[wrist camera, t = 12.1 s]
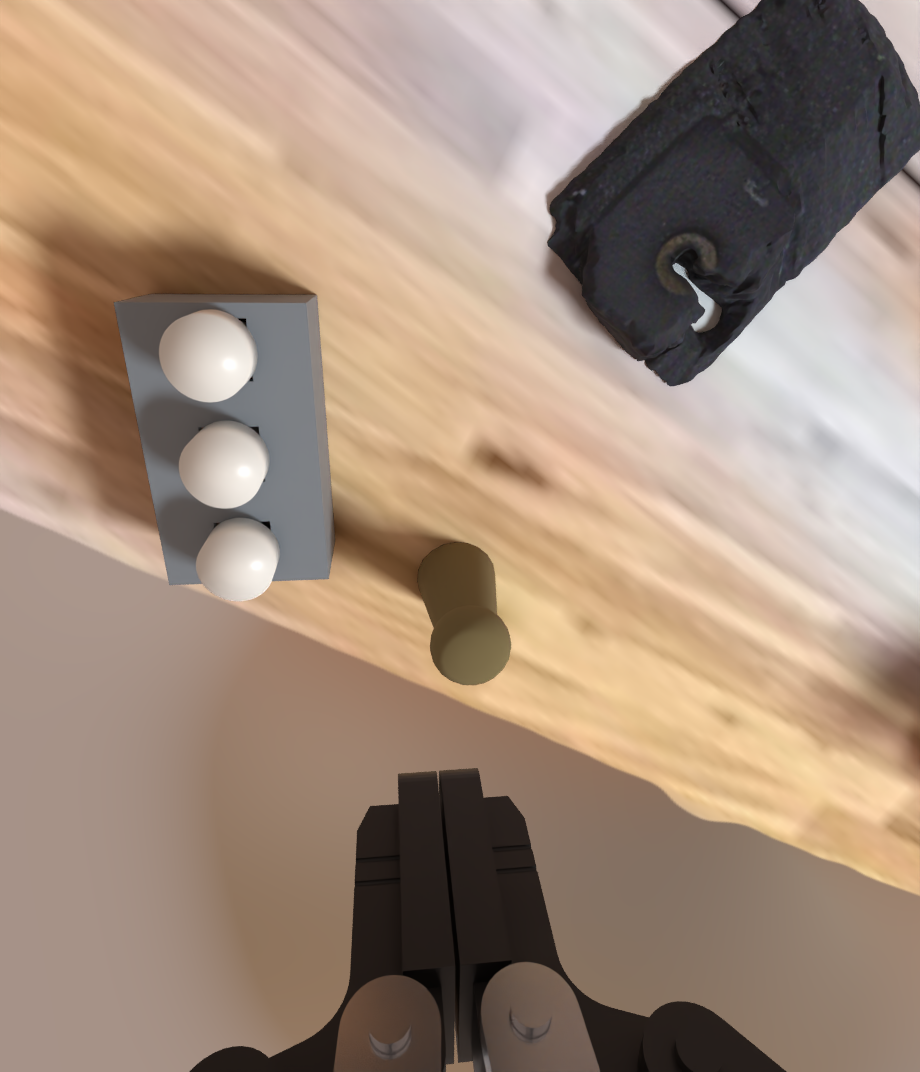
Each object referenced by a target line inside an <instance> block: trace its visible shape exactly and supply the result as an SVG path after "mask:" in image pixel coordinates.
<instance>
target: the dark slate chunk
mask: <svg viewBox="0 0 920 1072" xmlns="http://www.w3.org/2000/svg"><path fill="white" fill-rule="evenodd" d="M919 150H920V102H919V99H918V93H917V91H916V89H915V87H914V86H913V84H912V83H911V81H910V79H909V77H908V75H907V73H906V70H905V67H904V64H903V62H902V60H901V58H900V57H899V55H898V53H897V52H896V51H895V49H894V47H893V44H892V43H891V41H890V40H889V39H888V38H887V37H886V34H885V31H884V29H883V27H882V26H881V25H880V23H879V22H878V20H877V19H876V18H875V17H874V16H873V15H872V14H870V13H869V12H868V10H867V8H866V7H865V6H864V4H862V3H861V2H860V1H859V0H761V1H760V2H759V4H758V6H757V7H756V9H755V10H753V11H752V12H751V13H749V14H747V15H745V16H743V17H742V18H740V19H739V20H738V21H737V23H736V24H735V25H734V26H733V27H731V28H730V29H728V30H727V31H726V32H724V34H723V35H722V36H721V37H720V39H719V40H718V42H717V43H715V44H714V45H712V46H711V47H710V48H708V49H707V50H706V51H705V52H704V53H703V54H702V55H700V56H699V57H698V58H697V59H696V60H695V61H694V62H693V63H692V64H691V65H689V66H688V67H687V68H686V69H684V71H683V72H682V74H681V75H680V76H679V77H678V78H676V79H675V80H673V81H672V83H671V84H670V85H669V86H668V87H667V88H666V89H665V90H664V91H663V92H662V94H661V95H660V97H659V98H658V99H657V100H655V101H653V102H651V103H650V104H649V105H648V107H647V108H646V109H645V111H644V112H642V113H641V114H640V115H639V116H638V117H637V118H635V119H634V120H633V121H632V122H631V123H630V125H629V126H628V127H627V128H626V129H625V130H624V131H623V132H622V133H621V134H620V136H618V137H617V138H616V139H615V140H614V141H613V142H612V143H611V144H610V145H609V146H608V147H607V148H606V149H605V150H604V151H603V153H602V154H601V155H600V156H599V157H598V158H596V159H595V160H594V161H593V162H591V163H590V164H589V166H588V167H587V168H586V170H584V171H583V172H582V173H581V174H579V175H578V176H577V177H576V178H574V179H573V180H572V181H571V182H570V183H569V184H568V186H567V187H566V188H565V189H564V191H563V192H562V193H560V194H559V195H558V196H557V197H556V198H555V199H554V200H553V201H552V202H551V205H550V212H551V215H552V216H554V217H555V219H556V221H557V224H556V230H555V232H554V234H553V235H552V237H551V238H550V240H549V241H548V242H547V243H548V246H549V247H550V248H551V249H552V250H553V251H554V252H555V253H556V254H557V255H558V256H559V257H560V258H561V259H562V260H563V262H564V263H565V265H566V266H567V267H568V269H569V270H570V271H571V272H572V273H573V274H574V276H575V277H576V278H577V279H578V281H579V282H580V283H581V284H582V296H583V297H584V298H585V299H586V302H587V305H588V306H589V308H590V309H591V311H592V312H593V313H594V314H595V316H596V317H597V318H598V320H599V322H600V323H601V324H602V325H603V326H605V327H606V328H607V330H608V331H609V332H610V333H611V334H612V336H613V337H614V338H615V339H616V341H617V342H618V343H619V344H620V345H621V347H622V348H623V349H624V350H625V351H626V352H627V353H628V354H630V355H631V356H633V357H634V358H635V359H637V361H642V360H645V361H646V363H647V366H648V368H649V369H650V370H655V371H656V372H657V373H658V374H659V376H660V378H661V379H662V380H665V381H666V382H667V385H669V386H676V385H680V384H683V383H687V382H689V381H691V380H692V379H693V378H694V377H695V376H696V375H697V374H698V373H700V372H702V371H704V370H705V369H706V368H708V367H709V366H710V365H711V364H712V363H713V362H714V361H715V360H716V359H717V357H718V356H719V355H720V354H721V353H722V352H723V351H724V350H725V349H726V347H727V346H728V345H729V344H730V343H732V342H733V341H734V340H735V339H736V338H737V337H738V336H739V335H740V334H741V332H742V331H743V330H744V328H745V327H746V326H747V325H748V324H749V323H750V322H751V321H752V319H753V318H754V317H755V316H756V315H757V314H758V313H759V312H760V311H761V310H762V309H763V308H764V306H765V305H766V304H767V303H768V302H769V301H770V300H771V299H772V297H773V295H774V294H775V292H776V291H778V290H779V289H780V288H781V287H783V286H784V285H785V282H786V281H788V280H791V279H794V278H796V277H797V276H798V275H799V274H800V273H801V271H802V270H803V268H804V267H806V266H807V265H808V264H810V263H811V262H812V261H814V260H815V259H816V258H817V256H818V255H819V254H820V253H822V252H823V251H824V250H825V249H826V247H827V246H828V245H829V243H830V242H831V240H832V239H833V238H834V237H835V235H836V233H838V232H839V231H840V230H841V229H842V228H843V227H844V226H846V225H847V224H849V222H850V221H851V220H852V218H853V217H854V216H855V215H856V213H857V212H858V211H859V210H860V209H861V208H862V207H863V206H864V205H865V204H866V203H867V202H868V201H869V200H870V199H871V198H872V197H873V196H874V194H875V193H876V192H877V191H878V190H879V189H881V188H882V187H883V186H884V185H885V184H886V183H887V182H889V181H890V180H891V179H892V178H893V177H894V176H895V175H897V174H898V173H899V172H900V171H901V170H902V169H903V168H904V166H905V165H906V164H907V162H908V161H909V160H910V158H911V157H912V156H913V155H914V154H916V153H917V152H918V151H919ZM675 263H678V264H679V265H681V266H682V267H684V268H686V269H687V270H688V272H689V279H690V280H691V282H692V283H693V284H695V285H696V286H697V287H698V288H699V289H700V290H701V291H702V292H704V293H705V294H706V295H708V296H709V297H710V298H712V299H713V300H714V301H715V302H716V303H717V304H718V305H719V306H720V307H722V314H721V317H720V320H719V322H718V324H717V325H716V326H715V327H714V328H713V329H711V330H709V331H706V332H701V333H698V332H695V331H694V329H693V327H692V326H691V324H692V323H696V322H697V321H698V319H699V318H700V317H701V316H703V314H704V312H705V309H704V308H703V307H702V306H701V305H700V304H699V302H698V296H697V294H696V292H695V291H694V289H693V288H692V286H691V285H690V283H689V282H688V281H687V280H686V279H685V278H684V277H682V276H681V275H679V274H678V273H676V272H675V271H674V269H673V266H672V265H673V264H675Z"/></svg>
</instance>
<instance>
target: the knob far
mask: <svg viewBox="0 0 920 1072" xmlns="http://www.w3.org/2000/svg"><path fill="white" fill-rule="evenodd" d="M270 528H271V526H270V521H263V522H258V521H255V520H253V519H249V518H232V519H228V520H225V521H223V522H221V523H220V524H218V525H217V526H216V527H215V528H214V529H213V530H212V531H211V533H210V535H209V536H208V538H207V540H206V541H205V543H204V545H203V546H202V548H201V550H200V552H199V553H198V556H197V560H196V571H197V574H198V577H199V579H200V581H201V583H202V584H203V585H204V586H205V588H206V589H207V590H209V591H210V592H211V593H213V594H214V595H216V596H218V597H220V598H223V599H226V600H230V601H246V600H250V599H253V598H256V597H258V596H259V595H261V594H262V593H263V592H265V591H266V589H267V588H268V587H269V585H270V584H271V581H272V579H273V576H274V573H275V570H276V567H277V564H278V561H279V557H280V548H279V543H278V541H277V539H276V537H275V535H274V534H273V533H272V531H271V530H270Z"/></svg>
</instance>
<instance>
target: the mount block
mask: <svg viewBox="0 0 920 1072" xmlns="http://www.w3.org/2000/svg"><path fill="white" fill-rule="evenodd" d="M114 306H115V311H116V316H117V322H118V327H119V332H120V337H121V342H122V347H123V352H124V357H125V362H126V367H127V372H128V377H129V383H130V388H131V393H132V398H133V403H134V408H135V413H136V418H137V423H138V428H139V433H140V438H141V443H142V449H143V454H144V459H145V464H146V469H147V474H148V479H149V484H150V489H151V494H152V499H153V504H154V509H155V515H156V520H157V525H158V530H159V535H160V540H161V545H162V550H163V555H164V560H165V565H166V570H167V575H168V581H169V585H184V584H202V583H201V581H200V579H199V577H198V574H197V571H196V560H197V556H198V553H199V552H200V550H201V548H202V546H203V545H204V543H205V541H206V540H207V538H208V536H209V535H210V533H211V531H212V530H213V529H214V528H215V527H216V526H217V525H216V523H221V522H223V521H225V520H228V519H232V518H249V519H253V520H255V521H258V522H263V521H270V526H271V531H272V533H273V534H274V535H275V537H276V539H277V541H278V543H279V548H280V557H279V561H278V564H277V567H276V570H275V573H274V576H273V579H272V581H290V580H316V579H329V574H330V568H331V562H332V556H333V550H334V545H335V531H334V518H333V504H332V491H331V477H330V464H329V450H328V437H327V423H326V410H325V396H324V383H323V369H322V356H321V342H320V329H319V315H318V302H317V295H277V294H148V295H144V296H139V297H135V298H130V299H126V300H121V301H117V302H114ZM208 309H212V310H219V311H223V312H226V313H229V314H231V315H233V316H234V317H236V318H246V324H247V328H248V330H249V331H250V333H251V334H252V336H253V338H254V340H255V343H256V347H257V354H258V359H257V365H256V369H255V372H254V374H253V379H250V380H249V381H248V382H247V383H246V384H245V385H244V386H243V387H242V388H241V389H240V390H239V391H238V392H237V393H236V394H234V395H233V396H232V397H230V398H228V399H226V400H223V401H219V402H202V401H197V400H194V399H192V398H189V397H187V396H186V395H184V394H182V393H181V392H179V391H178V390H177V389H176V388H175V387H174V386H173V385H172V384H171V383H170V382H169V380H168V379H167V377H166V376H165V374H164V372H163V369H162V367H161V363H160V359H159V346H160V341H161V338H162V336H163V334H164V332H165V330H166V329H167V328H168V327H169V326H170V325H171V324H172V323H173V322H174V321H176V320H177V319H179V318H181V317H184V316H187V315H189V314H192V313H195V312H197V311H201V310H208ZM225 420H226V421H235V422H239V423H242V424H244V425H246V426H248V427H258V426H259V434H260V437H261V438H262V439H263V441H264V443H265V444H266V447H267V449H268V452H269V461H270V462H269V468H268V472H267V474H266V476H265V478H264V480H263V482H262V484H261V486H260V488H259V490H258V492H257V493H256V495H255V496H254V497H253V498H252V499H251V500H250V501H248V502H247V503H245V504H243V505H241V506H238V507H234V508H227V509H225V508H215V507H212V506H209V505H206V504H204V503H202V502H200V501H199V500H197V499H196V498H195V497H194V496H192V495H191V494H190V493H189V491H188V490H187V489H186V487H185V486H184V484H183V482H182V480H181V477H180V473H179V459H180V456H181V453H182V451H183V449H184V448H185V446H186V445H187V444H188V443H189V442H190V441H191V440H192V439H193V438H194V437H195V436H196V435H197V434H198V433H199V432H200V431H201V430H202V429H201V427H205V426H207V425H209V424H211V423H214V422H217V421H225Z"/></svg>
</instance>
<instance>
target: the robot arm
mask: <svg viewBox="0 0 920 1072" xmlns="http://www.w3.org/2000/svg"><path fill="white" fill-rule="evenodd" d="M398 789H399V790H398V791H399V792H398V794H399V804H394V805H380V806H370V807H369V809H368V811H367V813H366V815H365V817H364V819H363V821H362V823H361V825H360V827H359V828H358V830H357V846H356V867H355V868H356V869H355V888H354V909H353V929H352V949H351V970H350V980H349V986H348V990H347V993H346V995H345V998H344V1001H343V1003H342V1004H341V1006H340V1008H339V1009H338V1011H337V1013H336V1014H335V1015H334V1017H333V1018H332V1019H331V1021H330V1022H328V1023H327V1025H325V1026H324V1028H323V1029H321V1030H320V1031H319V1032H317V1033H316V1034H315V1035H313V1036H312V1037H310V1038H308V1039H307V1040H305V1041H303V1042H301V1043H299V1044H297V1045H295V1046H293V1047H291V1048H289V1049H286V1050H284V1051H282V1052H280V1053H278V1054H276V1055H274V1056H272V1057H270V1058H268V1057H267V1056H266V1055H265V1054H263V1053H262V1052H260V1051H259V1050H256V1049H254V1048H251V1047H244V1046H237V1047H230V1048H225V1049H222V1050H220V1051H217V1052H215V1053H213V1054H211V1055H210V1056H208V1057H206V1058H205V1059H203V1060H202V1061H201V1062H199V1063H198V1064H197V1065H196V1066H195V1067H194V1068H193V1069H192V1070H191V1071H190V1072H446V1064H454V1022H455V1031H456V1042H457V1053H458V1063H459V1062H469V1061H473V1066H474V1072H786V1071H785V1070H784V1069H782V1068H781V1067H780V1066H779V1065H778V1064H776V1063H775V1062H774V1061H773V1060H772V1059H770V1058H769V1057H768V1056H767V1055H766V1054H764V1053H763V1052H762V1051H760V1050H759V1049H758V1048H757V1047H756V1046H755V1045H753V1044H752V1043H751V1042H750V1041H749V1040H747V1039H746V1038H745V1037H743V1036H742V1035H741V1034H740V1033H739V1032H737V1031H736V1030H735V1029H734V1028H733V1027H732V1026H730V1025H729V1024H728V1023H727V1022H726V1021H724V1020H723V1019H722V1018H720V1017H719V1016H718V1015H716V1014H715V1013H714V1012H712V1011H710V1010H709V1009H706V1008H705V1007H703V1006H700V1005H697V1004H695V1003H690V1002H671V1003H668V1004H665V1005H663V1006H661V1007H659V1008H658V1009H657V1010H655V1011H654V1012H653V1014H652V1015H651V1016H650V1017H645V1016H641V1015H637V1014H633V1013H630V1012H625V1011H622V1010H618V1009H614V1008H611V1007H608V1006H605V1005H602V1004H600V1003H598V1002H596V1001H594V1000H592V999H591V998H589V997H588V996H586V995H584V994H583V993H582V992H581V991H580V990H579V989H578V988H577V987H576V986H575V985H574V984H573V983H572V981H571V980H570V979H569V978H568V976H567V975H566V973H565V972H564V970H563V968H562V966H561V964H560V961H559V958H558V955H557V951H556V947H555V943H554V939H553V934H552V930H551V926H550V922H549V918H548V914H547V910H546V905H545V901H544V897H543V893H542V889H541V885H540V881H539V876H538V872H537V871H536V864H535V860H534V855H533V851H532V849H531V843H530V839H529V835H528V831H527V826H526V822H525V818H524V817H523V815H522V814H521V813H520V811H519V810H518V809H517V807H516V806H515V805H514V803H513V802H512V801H511V799H510V798H509V797H508V796H501V797H488V798H483V793H482V787H481V781H480V775H479V771H478V769H477V768H473V769H458V770H444V771H439V791H438V781H437V772H436V771H432V772H417V773H402V774H398Z"/></svg>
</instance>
